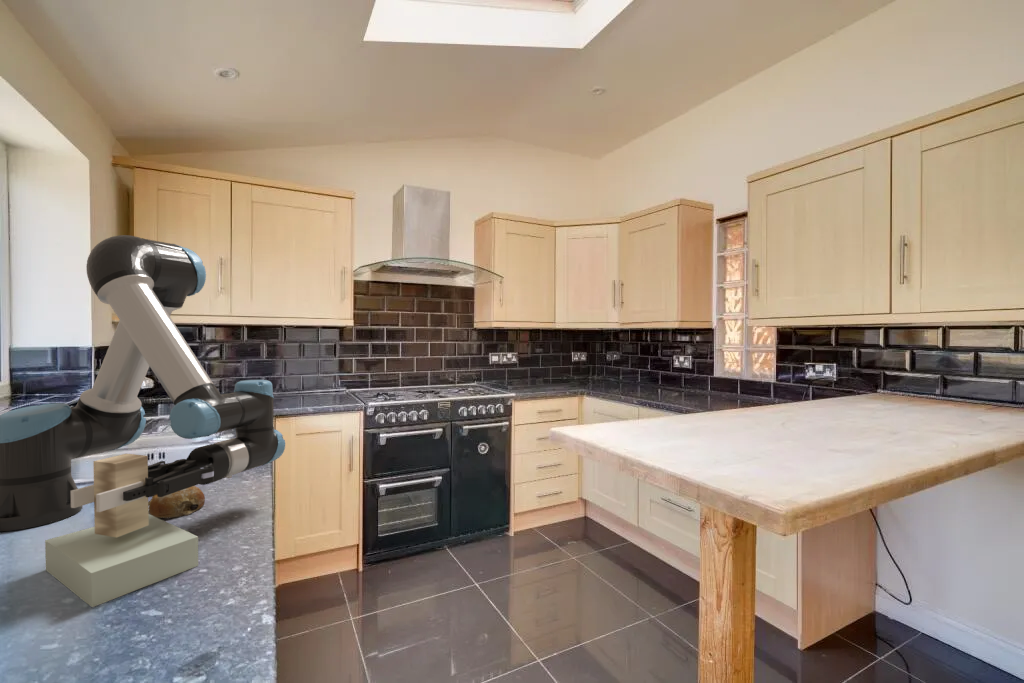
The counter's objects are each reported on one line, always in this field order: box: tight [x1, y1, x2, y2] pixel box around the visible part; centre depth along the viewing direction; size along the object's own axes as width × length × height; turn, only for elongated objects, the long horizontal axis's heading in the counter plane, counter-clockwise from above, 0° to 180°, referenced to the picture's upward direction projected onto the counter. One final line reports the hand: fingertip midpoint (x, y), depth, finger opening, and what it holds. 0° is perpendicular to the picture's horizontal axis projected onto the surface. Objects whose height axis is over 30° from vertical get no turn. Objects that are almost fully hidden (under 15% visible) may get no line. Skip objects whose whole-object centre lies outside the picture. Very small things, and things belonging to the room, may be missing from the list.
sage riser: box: [44, 513, 199, 608], centre depth 78 cm, size 20×14×5 cm
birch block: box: [93, 453, 149, 538], centre depth 78 cm, size 5×5×12 cm
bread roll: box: [148, 485, 206, 519], centre depth 103 cm, size 10×10×8 cm
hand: (85, 501), depth 73 cm, fingers closed on birch block, 5 cm apart
